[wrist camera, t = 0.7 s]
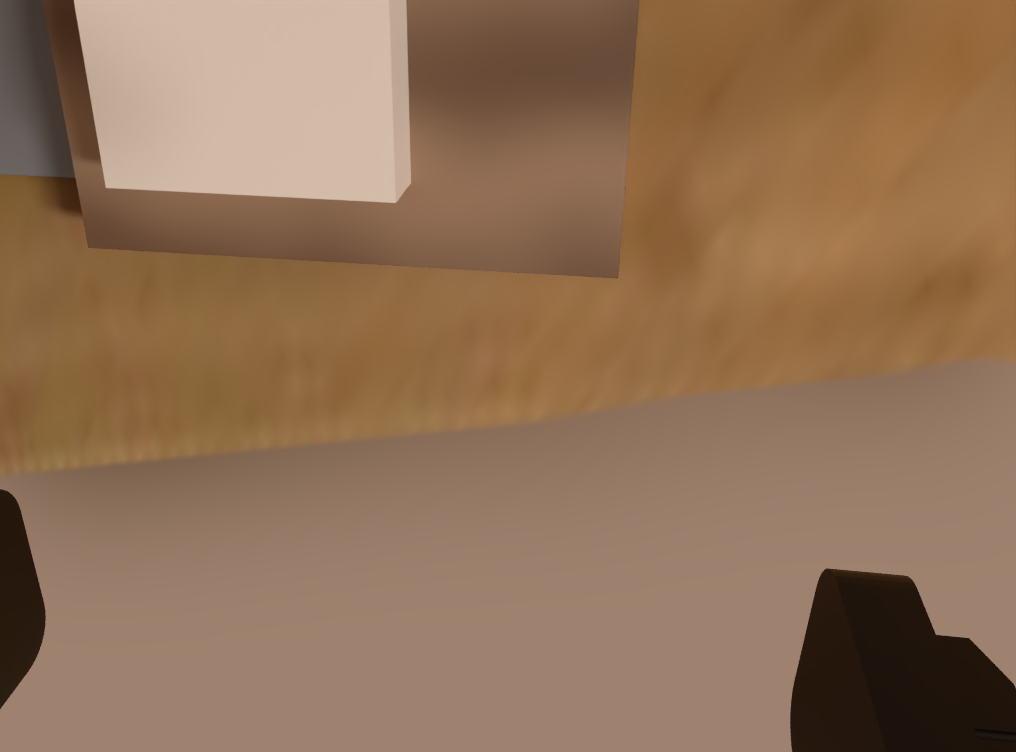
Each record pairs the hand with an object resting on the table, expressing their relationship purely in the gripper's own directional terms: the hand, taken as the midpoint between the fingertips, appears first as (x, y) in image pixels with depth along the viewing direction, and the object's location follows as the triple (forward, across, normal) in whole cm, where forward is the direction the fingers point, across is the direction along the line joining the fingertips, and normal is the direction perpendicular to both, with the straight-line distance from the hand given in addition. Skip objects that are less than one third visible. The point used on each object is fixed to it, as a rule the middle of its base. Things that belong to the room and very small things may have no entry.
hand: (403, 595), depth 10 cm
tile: (+19, +8, -2) cm, 20 cm away
